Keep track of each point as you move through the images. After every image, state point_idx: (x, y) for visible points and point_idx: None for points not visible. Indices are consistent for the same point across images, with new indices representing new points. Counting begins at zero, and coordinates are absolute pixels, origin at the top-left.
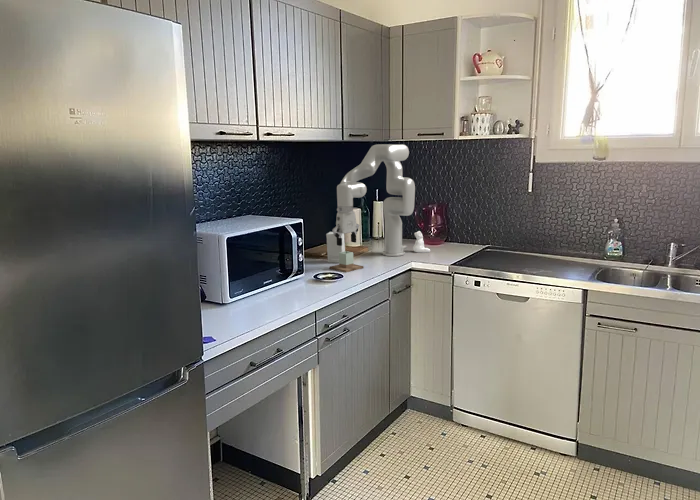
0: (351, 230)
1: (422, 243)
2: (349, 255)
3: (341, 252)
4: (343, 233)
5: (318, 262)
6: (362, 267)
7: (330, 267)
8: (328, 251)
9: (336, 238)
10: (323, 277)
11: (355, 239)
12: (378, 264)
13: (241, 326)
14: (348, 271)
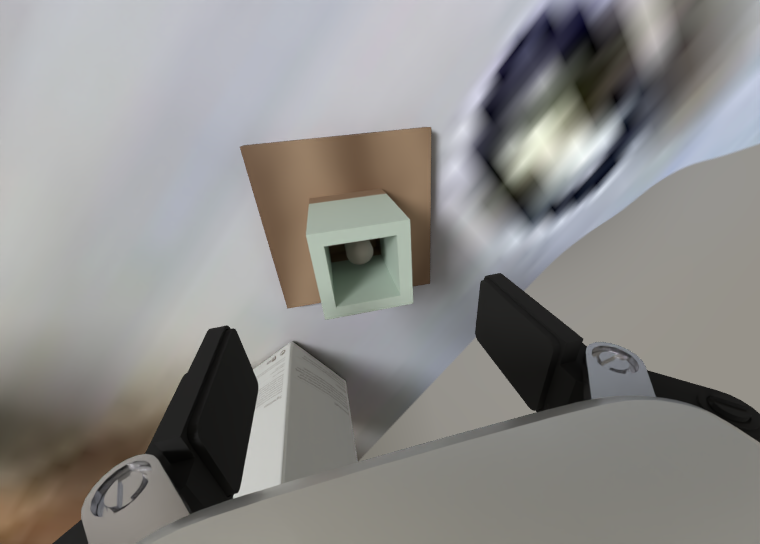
0: (376, 522)
1: None
2: (360, 219)
3: (391, 300)
4: (642, 396)
5: (377, 399)
6: (254, 144)
7: (429, 273)
8: (350, 433)
9: None
10: (597, 123)
11: (213, 355)
12: (47, 165)
13: None
14: (404, 129)
